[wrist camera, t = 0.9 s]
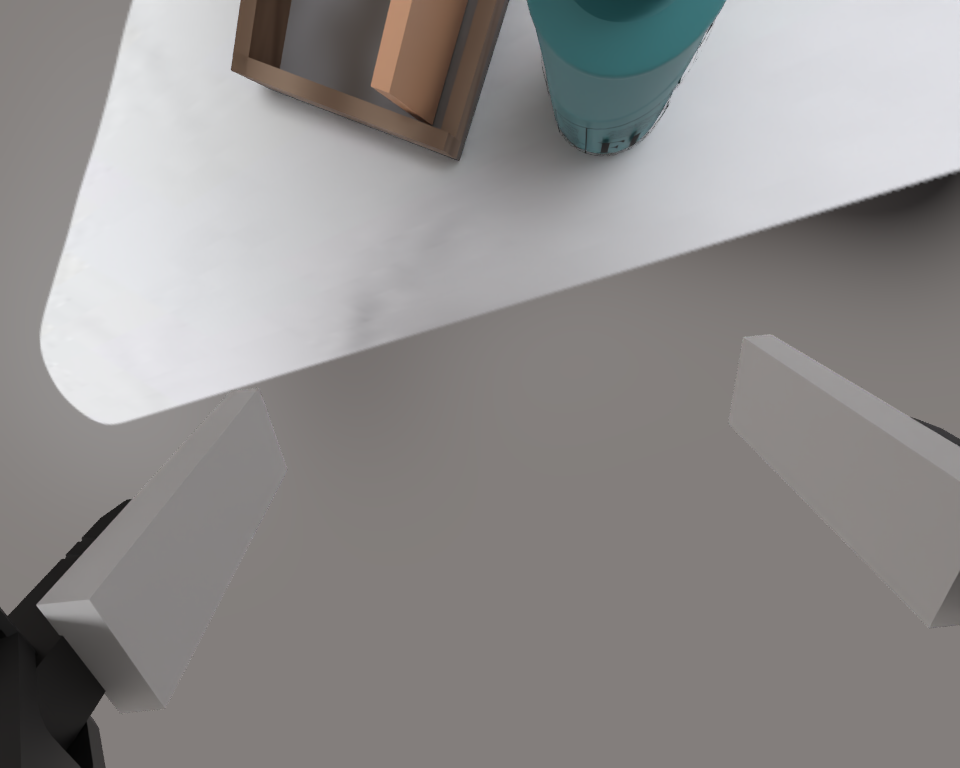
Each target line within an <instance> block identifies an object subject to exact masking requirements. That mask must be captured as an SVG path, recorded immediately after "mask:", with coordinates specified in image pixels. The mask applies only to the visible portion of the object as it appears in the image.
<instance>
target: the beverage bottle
mask: <svg viewBox="0 0 960 768" xmlns="http://www.w3.org/2000/svg"><path fill="white" fill-rule="evenodd" d="M725 2H726V0H527V3H528V7H529V11H530V15H531V17H532V20H533V23H534V25H535V28H536V32H537V36H538V40H539V44H540V48H541V53H542V57H543V61H544V65H545V69H546V75H547V76H546V78H547V81H548V86H549V91H550V92H548V93H550V96H551V101H552V105H553V110H554V114H555V118H556V121H557V123H558V128H559V127H560V129H561V131H562V132H563V134H564V135H565V137H567V138H568V139H569V141H570V142H571V144H572V143H573V144H574V148H575V145H576V148H577V147H579V148H581V149H583V150H585V152H584V153H586V151H589V152H592V153H599V154H597V155H596V156H598V155H601V154H607V153H611V154H615V153H614V152H617V151H621V150H623V149H625V150H626V148H628V147H630V146H632V145H633V146H634V144H635V143H636V142H637V141H638V140H640V139H641V138H642V137H643V136H644V135H645V134H646V133H647V132H648V131H649V129H650V128H651V127H652V126H653V124H654V123H655V121H656V120H657V118H658V116H659V115H660V113H661V111H662V109H663V108H664V106H665V104H666V102H667V101H668V99H669V97H670V98H671V95H672V92H673V90H675V89H676V87H677V86H679V85H677V84H679V83H680V80H681V77H682V75H683V73H684V72H685V70H686V68H687V66H688V65H689V63H690V61H691V59H692V58H693V56H694V54H695V52H696V50H697V49H698V47H700V46H701V45H700V43H701V41H702V39H703V37H704V34H705V33H706V31H707V30H708V28H709V27H710V28H711V26H712V24H713V21H714V20H715V19H716V17H717V15H718V14H719V12H720V11H721V9H722V7H723V5H724V3H725ZM712 27H713V26H712ZM710 28H709V30H710ZM709 30H708V31H709ZM711 30H712V29H711ZM707 33H708V32H707ZM705 37H706V36H705ZM704 39H705V38H704ZM707 39H708V38H707ZM703 41H704V40H703ZM703 41H702V42H703ZM706 41H707V40H706ZM701 44H702V43H701ZM699 45H700V46H699ZM697 51H698V50H697ZM701 51H702V50H701ZM695 58H696V57H695ZM696 60H697V59H696ZM694 61H695V60H694ZM542 68H543V67H542ZM688 72H689V71H688ZM543 73H544V71H543ZM544 77H545V75H544ZM545 81H546V80H545ZM681 81H682V80H681ZM546 85H547V84H546ZM676 85H677V86H676ZM547 89H548V88H547ZM668 103H669V102H668ZM668 103H667V104H668ZM668 106H669V105H667V106H665V107H668ZM666 109H667V108H666ZM664 110H665V109H664ZM664 112H665V111H664ZM663 114H664V113H663ZM663 114H662V115H663ZM661 117H662V116H661ZM661 117H660V118H661ZM659 120H660V119H659ZM659 120H658V121H659ZM658 121H657V122H658ZM655 125H656V124H655ZM654 127H655V126H654ZM654 127H653V128H654ZM559 132H560V130H559ZM648 133H649V132H648ZM648 133H647V134H648ZM650 133H651V132H650ZM647 134H646V135H647ZM644 137H645V136H644ZM644 137H643V139H644ZM568 139H567V140H568ZM570 142H569V143H570ZM637 144H639V141H638V143H637ZM635 145H636V144H635ZM571 146H572V145H571ZM633 146H632V147H633ZM630 148H631V147H630ZM628 149H629V148H628ZM579 151H580V150H579ZM626 151H627V150H626ZM624 152H625V151H624ZM587 154H588V153H587ZM618 154H619V152H618ZM615 155H616V154H615ZM609 156H610V155H609Z"/></svg>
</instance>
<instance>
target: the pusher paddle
mask: <svg viewBox="0 0 960 768" xmlns="http://www.w3.org/2000/svg"><path fill="white" fill-rule="evenodd" d="M467 2H468V0H391V1H390V6H389V10H388V14H387V18H386V23H385V27H384V31H383V35H382V40H381V44H380V48H379V52H378V57H377V61H376V65H375V69H374V74H373V78H372V82H371V87H372V88H374V89H375V90H377V91H378V92H379V93H381V94H382V95H384V96H385V97H386V98H388V99H389V100H391V101H392V102H393V103H395V104H396V105H398V106H399V107H400V108H402V109H403V110H405V111H406V112H407V113H409V114H410V115H412V116H413V117H414V118H416V119H417V120H419V121H422V122H425V123H427V124H430V125H433V121H434V118H435V114H436V111H437V107H438V104H439V100H440V97H441V93H442V90H443V86H444V83H445V79H446V76H447V72H448V69H449V65H450V62H451V58H452V55H453V51H454V48H455V44H456V41H457V37H458V34H459V30H460V26H461V23H462V19H463V16H464V12H465V9H466V5H467Z"/></svg>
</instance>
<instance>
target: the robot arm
mask: <svg viewBox="0 0 960 768" xmlns="http://www.w3.org/2000/svg"><path fill="white" fill-rule="evenodd" d="M728 424H729V425H730V426H731V427H732V428H733V429H734V430H735V431H736V432H737V433H738V434H739V435H740V436H741V437H742V439H744V440H745V442H747V444H748V445H750V447H752V449H753V450H754V451H755V452H756V453H757V454H758V455H759V456H760V457H761V458H762V459H763V460H764V461H765V462H766V463H767V464H768V465H769V466H770V467H771V468H772V469H773V470H774V471H775V472H776V473H777V474H778V475H779V476H780V477H781V478H782V479H783V480H784V481H785V482H786V483H787V484H788V485H789V486H790V487H791V488H792V489H793V490H794V491H795V492H796V493H797V494H798V496H800V498H801V499H802V500H803V501H804V502H805V503H806V504H807V505H808V506H809V507H810V508H811V509H812V510H813V511H814V512H815V513H816V514H817V515H818V516H819V517H820V518H821V519H822V520H823V521H824V522H825V523H826V524H827V525H828V526H829V527H830V528H831V529H832V530H833V531H834V532H835V533H836V534H837V535H838V536H839V537H840V538H841V539H842V540H843V541H844V542H845V543H846V544H847V545H848V546H849V547H850V548H851V549H852V550H853V551H854V552H855V554H856V555H858V557H859V558H860V559H861V560H862V561H863V562H864V563H865V564H866V565H867V566H868V567H869V568H870V569H871V570H872V571H873V572H874V573H875V574H876V575H877V576H878V577H879V578H880V579H881V580H882V581H883V582H884V583H885V584H886V585H887V586H888V587H889V588H890V589H891V590H892V591H893V592H894V593H895V594H896V595H897V596H898V597H899V598H900V599H901V600H902V601H903V602H904V603H905V604H906V605H907V606H908V607H909V608H910V610H911V611H913V613H915V615H916V616H918V618H919V619H920V620H921V621H922V622H923V623H924V624H925V625H926V626H927V627H928V628H937V627H947V626H956V625H960V439H959V438H957V437H955V436H954V435H952V434H950V433H948V432H947V431H945V430H943V429H941V428H939V427H936V426H933V425H931V424H928V423H926V422H923V421H920V420H918V419H915V418H912V417H909V416H907V415H906V414H904V413H902V412H901V411H899V410H897V409H896V408H894V407H892V406H891V405H889V404H887V403H885V402H884V401H882V400H880V399H879V398H877V397H875V396H874V395H872V394H871V393H869V392H867V391H866V390H864V389H862V388H860V387H859V386H857V385H855V384H854V383H852V382H850V381H849V380H847V379H845V378H844V377H842V376H840V375H839V374H837V373H835V372H834V371H832V370H830V369H828V368H827V367H825V366H824V365H822V364H820V363H819V362H817V361H815V360H814V359H812V358H810V357H809V356H807V355H805V354H803V353H802V352H800V351H799V350H797V349H795V348H793V347H791V346H790V345H788V344H787V343H785V342H783V341H782V340H780V339H778V338H777V337H775V336H773V335H772V334H770V335H760V336H749V337H743V341H742V346H741V352H740V358H739V363H738V369H737V375H736V381H735V386H734V392H733V398H732V403H731V409H730V415H729V420H728ZM287 470H288V469H287V466H286V463H285V460H284V457H283V454H282V452H281V449H280V446H279V443H278V440H277V437H276V434H275V431H274V428H273V425H272V423H271V420H270V417H269V414H268V411H267V408H266V405H265V402H264V399H263V397H262V394H261V391H260V388H249V389H240V390H231V391H230V392H229V393H228V394H227V396H226V397H225V398H224V399H223V400H222V401H221V402H220V403H219V404H218V405H217V406H216V408H215V409H214V410H213V411H212V412H211V413H210V414H209V415H208V416H207V417H206V419H205V420H204V421H203V422H202V423H201V424H200V425H199V426H198V427H197V428H196V430H195V431H194V432H193V433H192V434H191V435H190V436H189V437H188V438H187V439H186V441H185V442H184V443H183V444H182V445H181V446H180V447H179V448H178V450H176V452H175V453H174V454H173V455H172V456H171V457H170V458H169V459H168V460H167V461H166V463H165V464H164V465H163V466H162V467H161V468H160V469H159V470H158V471H157V473H156V474H155V475H154V476H153V477H152V478H151V479H150V480H149V481H148V482H147V484H146V485H145V486H144V487H143V488H142V489H141V490H140V491H139V492H138V493H137V494H136V496H135V497H134V498H133V499H129V500H126V501H124V502H123V503H121V504H120V505H118V506H117V507H116V508H114V509H113V510H111V511H110V512H108V513H107V514H106V515H104V516H103V517H101V518H100V519H99V520H98V521H97V522H96V523H95V524H94V526H93V527H92V528H91V529H90V530H89V531H88V532H87V533H86V534H85V535H84V536H83V537H82V541H81V542H77V543H76V545H75V546H74V547H73V548H72V549H71V550H70V551H69V552H68V553H67V554H66V558H65V559H61V560H60V562H58V564H57V565H56V566H55V567H54V568H53V569H52V570H51V571H50V572H49V573H48V574H47V575H46V576H45V577H44V578H43V579H42V580H41V582H40V583H39V584H38V585H37V586H36V587H35V588H34V589H33V590H32V591H31V592H30V593H29V594H28V595H27V596H26V598H24V599H23V600H22V602H21V603H20V604H19V605H18V606H17V607H16V608H15V609H14V610H13V611H12V612H11V613H10V614H9V615H8V616H7V615H6V614H5V613H4V611H3V610H2V609H1V608H0V768H105V762H104V756H103V750H102V745H101V738H100V733H99V728H98V726H97V724H96V723H95V721H94V719H93V718H92V717H91V716H90V715H91V714H92V712H93V710H94V709H95V707H96V706H97V704H98V703H99V701H100V699H101V698H102V696H103V695H104V693H105V694H106V696H107V697H108V698H109V700H110V701H111V702H112V704H113V705H114V706H115V707H116V709H117V710H118V711H119V713H130V712H140V711H150V710H159V709H165V708H166V706H167V704H168V702H169V700H170V698H171V696H172V694H173V692H174V690H175V688H176V687H177V685H178V683H179V681H180V679H181V677H182V675H183V673H184V671H185V669H186V667H187V665H188V663H189V661H190V659H191V657H192V655H193V653H194V651H195V649H196V648H197V645H198V643H199V641H200V640H201V638H202V636H203V634H204V632H205V630H206V628H207V626H208V624H209V622H210V620H211V618H212V616H213V614H214V612H215V610H216V609H217V607H218V604H219V603H220V601H221V599H222V596H223V595H224V593H225V591H226V589H227V587H228V585H229V583H230V581H231V579H232V577H233V575H234V573H235V571H236V569H237V568H238V565H239V564H240V561H241V560H242V558H243V556H244V554H245V552H246V550H247V548H248V546H249V544H250V542H251V540H252V538H253V536H254V534H255V532H256V530H257V529H258V526H259V524H260V523H261V521H262V519H263V517H264V515H265V513H266V511H267V509H268V507H269V505H270V503H271V501H272V499H273V497H274V495H275V493H276V491H277V489H278V487H279V486H280V484H281V482H282V480H283V478H284V476H285V474H286V472H287Z"/></svg>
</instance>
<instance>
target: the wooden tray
mask: <svg viewBox="0 0 960 768" xmlns="http://www.w3.org/2000/svg"><path fill="white" fill-rule="evenodd" d="M390 1H391V0H241V2H240V9H239V16H238V24H237V31H236V38H235V45H234V52H233V59H232V66H231V70H232V71H234V72H236V73H238V74H240V75H242V76H244V77H246V78H248V79H250V80H252V81H255V82H257V83H259V84H261V85H263V86H265V87H267V88H269V89H272V90H274V91H277V92H280V93H282V94H285V95H287V96H290V97H293V98H295V99H298V100H301V101H303V102H306V103H308V104H311V105H314V106H316V107H319V108H322V109H324V110H327V111H329V112H332V113H335V114H337V115H340V116H343V117H345V118H348V119H350V120H353V121H356V122H358V123H361V124H364V125H366V126H369V127H371V128H374V129H377V130H379V131H382V132H385V133H387V134H390V135H393V136H395V137H398V138H400V139H403V140H406V141H408V142H411V143H414V144H416V145H419V146H421V147H424V148H427V149H429V150H432V151H435V152H437V153H440V154H442V155H445V156H448V157H450V158H453V159H456V160H458V161H459V160H460V157H461V154H462V150H463V147H464V144H465V141H466V138H467V134H468V131H469V128H470V125H471V121H472V118H473V115H474V112H475V109H476V105H477V102H478V99H479V96H480V93H481V89H482V86H483V83H484V80H485V76H486V73H487V70H488V67H489V64H490V60H491V57H492V54H493V51H494V47H495V44H496V41H497V38H498V35H499V31H500V28H501V25H502V22H503V18H504V15H505V12H506V9H507V6H508V2H509V0H468V2H467V5H466V9H465V12H464V16H463V19H462V23H461V26H460V30H459V34H458V37H457V41H456V44H455V48H454V51H453V55H452V58H451V62H450V65H449V69H448V72H447V76H446V79H445V83H444V86H443V90H442V93H441V97H440V100H439V104H438V107H437V111H436V114H435V118H434V121H433V125H430V124H427V123H425V122H422V121H419V120H417V119H416V118H414V117H413V116H412V115H410V114H409V113H407V112H406V111H405V110H403V109H402V108H400V107H399V106H398V105H396V104H395V103H393V102H392V101H391V100H389V99H388V98H386V97H385V96H384V95H382V94H381V93H379V92H378V91H377V90H375V89H374V88H372V87H371V82H372V78H373V74H374V69H375V65H376V61H377V57H378V52H379V48H380V44H381V40H382V35H383V31H384V27H385V23H386V18H387V14H388V10H389V6H390Z"/></svg>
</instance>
